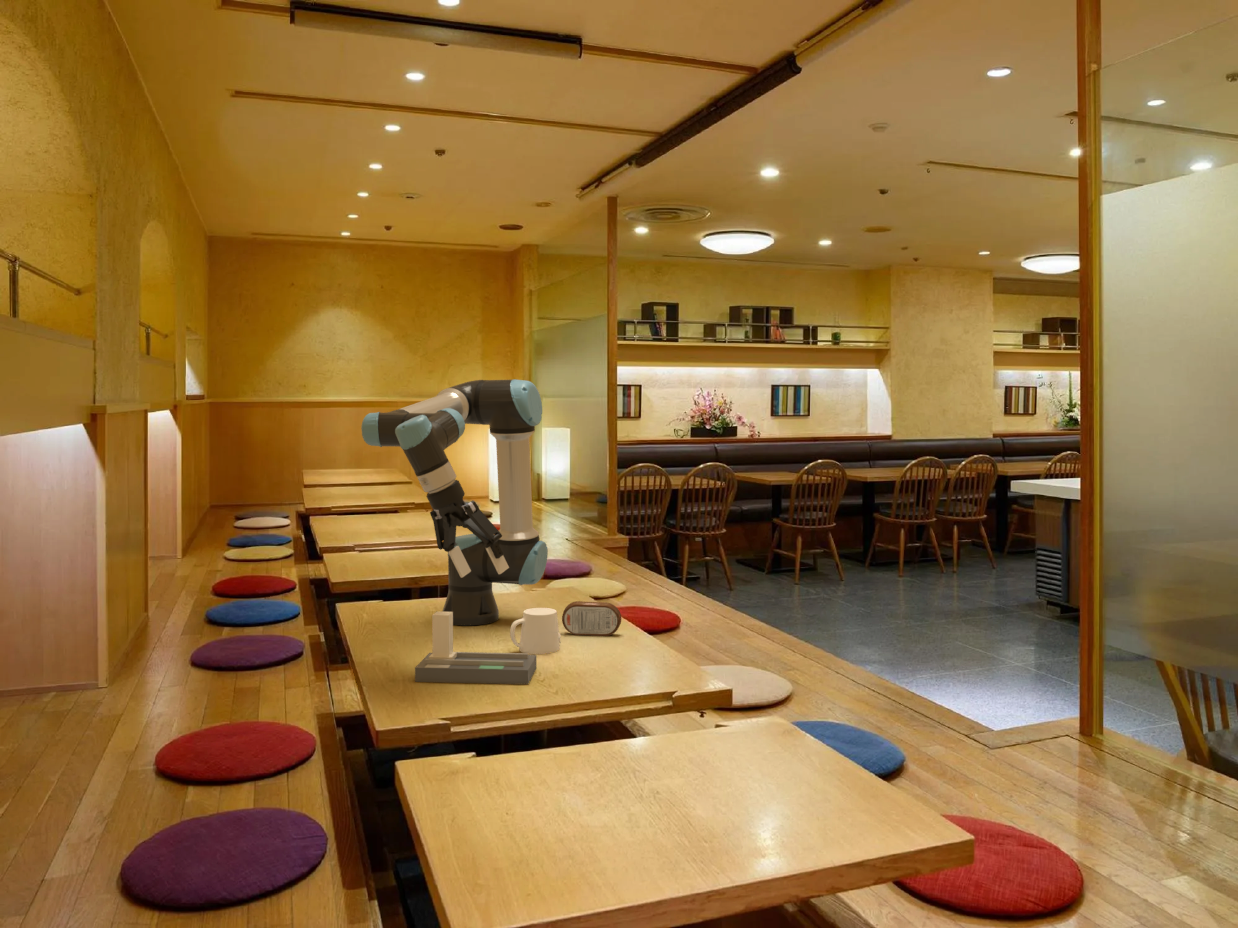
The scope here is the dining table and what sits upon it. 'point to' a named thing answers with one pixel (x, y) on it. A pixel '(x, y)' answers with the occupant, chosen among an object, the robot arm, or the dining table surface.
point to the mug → (537, 631)
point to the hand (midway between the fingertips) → (484, 572)
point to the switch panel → (478, 668)
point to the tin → (591, 618)
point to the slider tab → (442, 636)
